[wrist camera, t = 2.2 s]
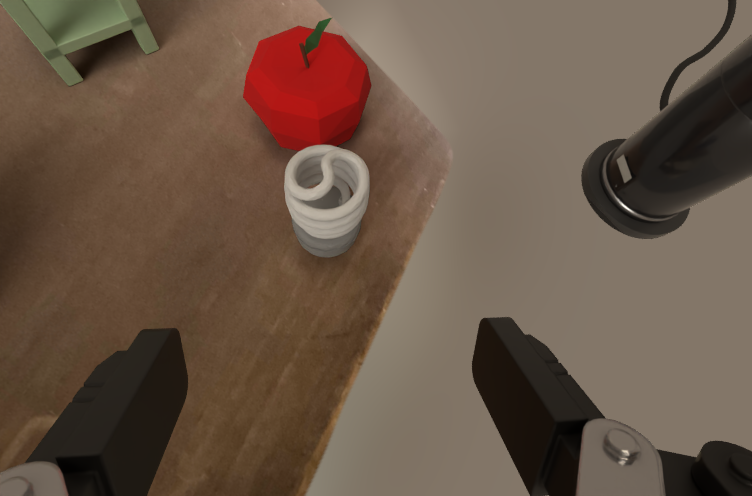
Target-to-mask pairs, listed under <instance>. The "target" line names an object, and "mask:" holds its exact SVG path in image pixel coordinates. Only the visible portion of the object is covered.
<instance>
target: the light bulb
mask: <svg viewBox="0 0 752 496" xmlns="http://www.w3.org/2000/svg"><path fill="white" fill-rule="evenodd" d="M369 181H370V180H369V170H368V168H367V166H366V164H365V162H364V161H363V159H362V158H360V157H359V156H358V155H357V154H355V153H353V152H351V151H349V150H346V149H341V148H339V147H335V146H332V145H314V146H310V147H307V148H305V149H303V150H301V151H299V152H298V153H297V154H296V155H294V156H293V157H292V158H291V160H290V161H289V163H288V165H287V167H286V171H285V184H284V190H285V200H286V204H287V206H288V208H289V212H290V214H291V216H292V224H293V229H294V232H295V234H296V236H297V238H298V240H299V242H300V244H301V245H302V247H303V248H304V249H306V250H307V251H308V252H310V253H311V254H313V255H316V256H319V257H334V256H338V255H340V254H342V253H344V252H346V251H347V250H348V249H349V248H350V247H351V246H352V245H353V244H354V242H355V240H356V237H357V235H358V233H359V231H360V227H361V219H362V216H363V215H364V213H365V211H366V208H367V205H368V198H369V193H370V184H369ZM346 182H347V183H346ZM318 183H320V184H319V185H318V186H316V187H314V188H312V189H306V188H308V187H309V186H311V185H315V184H318ZM333 185H334V186H336V187H334V186H333ZM348 185H349V186H350V187H351V189H352V191H353V193H354V195H353V196H351V195H350V190H349V186H348Z"/></svg>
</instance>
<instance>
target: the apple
mask: <svg viewBox="0 0 752 496" xmlns="http://www.w3.org/2000/svg"><path fill="white" fill-rule="evenodd" d="M330 20H331V18H329V19H326V20H323V21H320V22H319V23H318V25H317V26H316V28H315V29H310V28H306V27H302V26H297V27H294V28H292V29H289V30H287V31H284V32H281V33H279V34H276V35H274V36H271V37H269V38H266V39H263V40H261V41H259V43H258V46H257V48H256V51H255V54H254V56H253V59H252V62H251V64H250V67H249V69H248V72H247V75H246V80H245V87H244V94H243V98H244V99H245V100H246V101H247V103H248V104H249V105H250V106H251V107H252V109H253V110H254V111H255V112H256V114H257V115H258V116H259V117H260V118H261V120H262V121H263V122H264V124H265V125H266V127H267V128H268V129H269V131H270V132H271V134H272V135H273V136H274V138H275V139H276V141H277V142H278V143H279V145H280V146H281V147H284V148H288V149H293V150H297V151H301V150H303V149H305V148H307V147H310V146H314V145H332V146H335V147H336V146H337V145H339V144H341V143H343V142H345V141H347V140H349V139H350V138H351V137H352V135H353V133H354V131H355V129H356V127H357V125H358V123H359V121H360V118H361V115H362V112H363V109H364V106H365V103H366V100H367V97H368V94H369V91H370V88H371V82H370V78H369V73H368V69H367V66H366V64H365V63H364V62H363V61H362V60H361V58H360V57H359V56H358V55H357V54H356V52H355V51H354V50H353V49H352V47H351V46H350V45H349V44H348V43H347V41H346V40H345V39H344V38H343V37H342V36H340V35H336V34H332V33H327V32H323V31H324V29H325V28H326V26H327V25H328V23H329V21H330Z"/></svg>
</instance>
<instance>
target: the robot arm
mask: <svg viewBox="0 0 752 496" xmlns="http://www.w3.org/2000/svg"><path fill="white" fill-rule="evenodd" d="M735 8H736V0H728V12H727V16H726V19H725V22H724V24H723V27H722V28H721V30H720V31H719V33H718V34H717V35H716V36H715V38H714V39H713V40H712V41H711V42H710V43H709V44H708V45H707V46H706V47H705V48H704V49H703V50H701V51H700V52H698V53H696V54H695V55H693V56H691V57H689V58H687V59H686V60H685V61H683V62H682V63H681V64H679V65H678V66H677V67H676V68H675V70H674V71H673V73H672V74H671V76H670V78H669V80H668V82H667V83H666V85H665V87H664V90H663V93H662V96H661V100H660V112H659V113H658V114H657V115H656V116H654V117H653V118H652V119H651V120H650V121H648V122H647V123H646V124H645V125H644V126H643V127H641V128H640V129H639V130H638V131H637V132H635V133H634V134H633V135H632V136H630V137H629V138H628V139H627V140H626V141H624V142H623V143H622V144H621V145H620V146H618V147H616V148H615V149H613V150H612V151H611V152H610V153H609V154H608V155H606V157H605V158H604V159H603V161H602V163H601V166H600V172H599V176H600V182H601V186H602V188H603V191H604V193H605V194H606V196H607V198H608V199H609V200H610V202H611V203H612V204H613V205H614V206H615V207H616V208H617V209H618V210H619V211H621V212H622V213H623V214H625V215H627V216H628V217H630V218H632V219H634V220H637V221H640V222H644V223H661V222H664V221H666V220H668V219H670V218H672V217H674V216H676V215H677V214H679V213H680V212H682V211H684V210H686V209H688V208H690V207H692V206H694V205H696V204H698V203H700V202H702V201H704V200H706V199H708V198H710V197H711V196H714V195H715V194H718V193H719V192H722V191H724V190H725V189H727V188H729V187H731V186H733V185H735V184H737V183H739V182H741V181H743V180H745V179H747V178H749V177H751V176H752V35H750V36H749V37H748V38H747V39H746V40H745V41H743V42H742V43H741V44H740V45H739V46H737V47H736V48H735V49H734V50H733V51H732V52H730V53H729V54H728V55H727V56H726V57H725V58H723V59H722V60H721V61H720V62H719V63H718V64H716V65H715V66H714V67H713V68H712V69H710V70H709V71H708V72H707V73H706V74H704V75H703V76H702V77H701V78H700V79H698V80H697V81H696V82H695V83H694V84H692V85H691V86H690V87H689V88H688V89H687V90H685V91H684V92H683V93H682V94H681V95H679V96H678V97H677V98H676V99H675V100H674V101H672V102H671V103H670V104H669V105H668V99H669V95H670V93H671V90H672V88H673V86H674V84H675V82H676V80H677V78H678V76H679V75H680V73H681V72H682V71H683V70H684V69H685V68H686V67H687V66H688V65H690V64H691V63H693V62H695V61H697V60H699V59H700V58H702V57H703V56H705V55H706V54H708V53H709V52H710V51H711V50H712V49H713V48H714V47H715V46H716V45H717V44H718V43H719V42H720V41H721V40H722V38H723V37H724V36H725V34H726V33H727V31H728V29H729V28H730V25H731V23H732V20H733V17H734V14H735ZM472 373H473V378H474V382H475V384H476V387H477V389H478V391H479V393H480V395H481V396H482V399H483V401H484V403H485V405H486V407H487V409H488V411H489V413H490V415H491V417H492V419H493V421H494V423H495V425H496V427H497V429H498V431H499V433H500V435H501V437H502V439H503V441H504V444H505V445H506V448H507V450H508V452H509V454H510V456H511V458H512V460H513V462H514V464H515V466H516V468H517V470H518V472H519V474H520V476H521V478H522V480H523V482H524V484H525V486H526V488H527V490H528V492H529V494H530V496H545V495H549V496H752V452H751V451H750V450H747V449H745V448H743V447H740V446H738V445H735V444H732V443H728V442H723V441H710V442H708V443H706V444H705V445H704V446H703V447H702V449H701V451H700V453H699V455H698V456H697V458H696V457H691V456H687V455H682V454H676V453H672V452H667V451H662V450H657V449H655V447H654V446H653V445H652V444H651V442H650V441H648V440H647V439H646V438H645V437H644V436H643V435H642V434H640V433H639V432H638V431H636V430H635V429H633V428H631V427H629V426H627V425H625V424H623V423H621V422H618V421H615V420H610V419H606V418H605V417H604V416H603V415H602V413H601V412H600V411H599V410H598V408H597V407H596V406H595V405H594V404H593V402H592V401H591V400H590V399H589V397H588V396H587V395H586V394H585V392H584V391H583V390H582V389H581V388H580V386H579V385H578V384H577V383H576V381H575V380H574V379H573V378H572V377H571V375H568V372H567V370H566V369H565V368H564V367H563V366H562V364H561V363H558V360H557V358H556V357H555V356H554V354H553V353H552V352H551V351H550V350H549V348H548V347H547V346H546V345H544V344H543V343H541V342H540V341H539V340H537V339H536V338H534V337H533V336H531V335H524V333H523V332H522V331H521V329H520V328H519V327H518V326H517V324H516V323H515V322H514V320H513V319H512V318H510V317H502V318H483V319H482V320H481V321H480V324H479V329H478V334H477V340H476V345H475V350H474V355H473V361H472ZM187 389H188V375H187V369H186V364H185V359H184V354H183V349H182V343H181V338H180V334H179V331H178V330H177V329H176V328H166V329H143V330H142V331H140V333H139V334H138V335H137V337H136V338H135V340H134V341H133V343H132V344H131V346H130V347H129V349H128V350H127V351H117V352H115V353H114V354H113V355H111V356H110V357H109V358H107V359H106V360H105V361H103V362H102V363H101V364H99V365H98V366H97V367H96V368H95V369H94V371H93V372H92V373H91V375H90V376H89V378H88V379H87V380H86V382H85V383H84V387H81V388H80V390H79V391H78V392H77V394H76V395H75V396H74V398H73V401H72V403H69V404H68V406H67V407H66V408H65V410H64V411H63V412H62V414H61V415H60V416H59V418H58V419H57V420H56V422H55V423H54V424H53V426H52V427H51V428H50V430H49V431H48V433H47V434H46V435H45V437H44V438H43V439H42V441H41V442H40V443H39V445H38V446H37V447H36V449H35V450H34V451H33V453H32V454H31V455H30V457H29V458H28V459H27V461H26V462H25V463H24V464H21V465H18V466H15V467H12V468H10V469H8V470H5V471H3V472H1V473H0V496H147V494H148V491H149V489H150V486H151V484H152V481H153V479H154V476H155V474H156V471H157V469H158V466H159V464H160V461H161V459H162V457H163V454H164V452H165V449H166V447H167V444H168V442H169V439H170V437H171V434H172V432H173V429H174V427H175V424H176V422H177V419H178V417H179V414H180V412H181V409H182V407H183V405H184V402H185V399H186V395H187Z"/></svg>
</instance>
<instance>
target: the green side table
mask: <svg viewBox="0 0 752 496" xmlns="http://www.w3.org/2000/svg"><path fill="white" fill-rule="evenodd" d="M0 4H1V5H2V6H3V7H4V9H5V10H6V11H7V12H8V13H9V15H10V16H11V17H12V18H13V20H14V21H15V22H16V23H17V24H18V26H19V27H20V28H21V29H22V30H23V32H24V33H25V34H26V35H27V36H28V38H29V39H30V40H31V41H32V42H33V44H34V45H35V46H36V47H37V49H38V50H39V51H40V52H41V53H42V55H43V56H44V57H45V58H46V59H47V61H48V62H49V63H50V64H51V65H52V67H53V68H54V69H55V70H56V71H57V73H58V74H59V75H60V76H61V78H62V79H63V80H64V81H65V82H66V84H67V85H68V86H72V85H74V84H76V83H79V82H81V81H83V78H82V77H81V75H80V74H79V73H78V71H77V70H76V68H75V67H74V66H73V64H72V63H71V62H70V61H69V59H68V58H67V57H66V54H68V53H71V52H74V51H76V50H79V49H81V48H84V47H87V46H89V45H92V44H94V43H97V42H100V41H102V40H105V39H107V38H110V37H113V36H115V35H118V34H120V33H123V32H126V31H128V30H132V32H133V34H134V35H135V37H136V39H137V41H138V43H139V45H140V46H141V48H142V49H143V50H144V52H145V53H146V54H149V53H152V52H154V51H157V50H159V47H158V45H157V43H156V40H155V38H154V36H153V34H152V32H151V30H150V28H149V26H148V24H147V21H146V19H145V17H144V15H143V13H142V11H141V9H140V7H139V5H138V3H137V0H0Z"/></svg>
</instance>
